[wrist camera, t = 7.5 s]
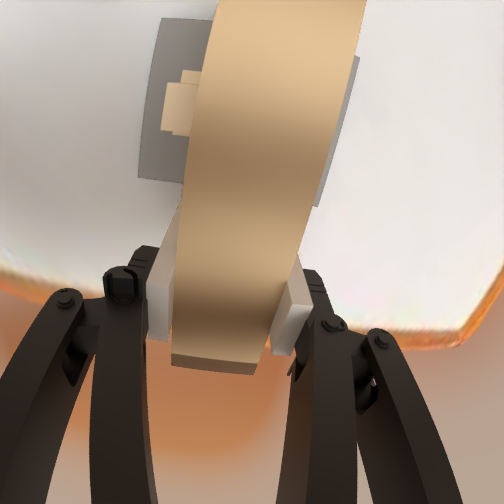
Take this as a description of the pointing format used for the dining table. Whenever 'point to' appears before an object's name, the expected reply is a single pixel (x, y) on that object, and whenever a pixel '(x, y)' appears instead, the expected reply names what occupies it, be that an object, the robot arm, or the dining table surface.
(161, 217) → the dining table surface
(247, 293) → the oak bar
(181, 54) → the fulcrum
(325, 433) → the robot arm
